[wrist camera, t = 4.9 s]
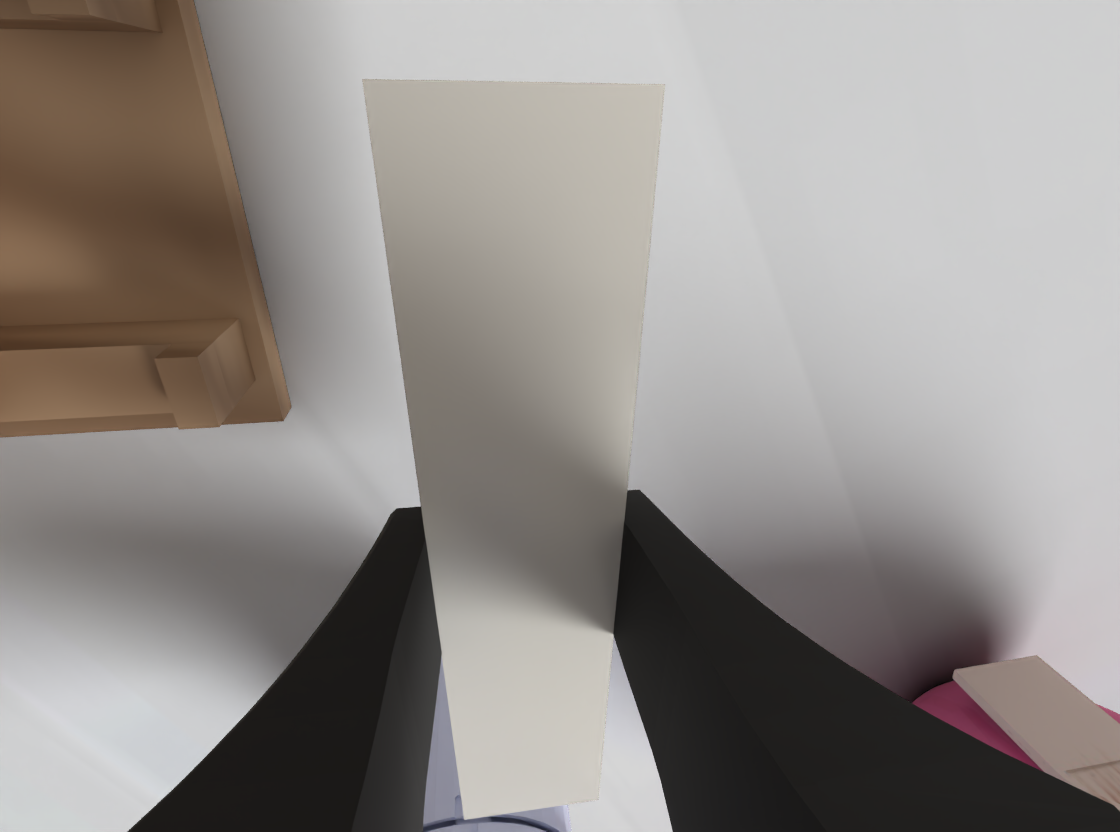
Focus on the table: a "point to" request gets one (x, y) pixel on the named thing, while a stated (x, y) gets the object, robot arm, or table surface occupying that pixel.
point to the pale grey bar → (520, 399)
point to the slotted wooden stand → (123, 229)
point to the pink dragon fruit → (1034, 721)
